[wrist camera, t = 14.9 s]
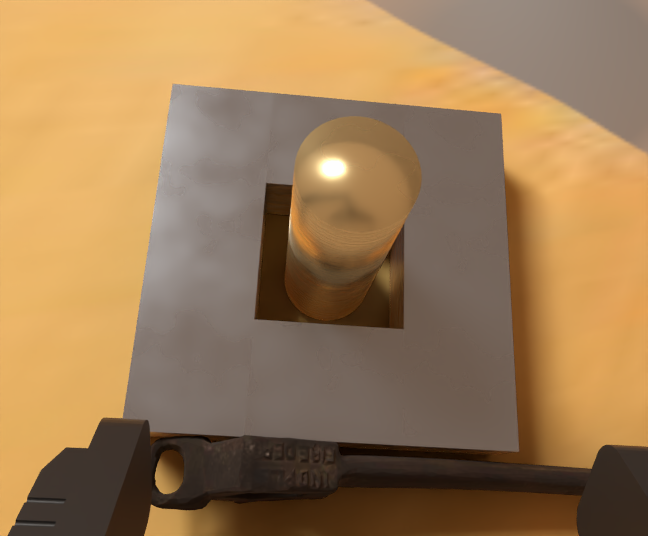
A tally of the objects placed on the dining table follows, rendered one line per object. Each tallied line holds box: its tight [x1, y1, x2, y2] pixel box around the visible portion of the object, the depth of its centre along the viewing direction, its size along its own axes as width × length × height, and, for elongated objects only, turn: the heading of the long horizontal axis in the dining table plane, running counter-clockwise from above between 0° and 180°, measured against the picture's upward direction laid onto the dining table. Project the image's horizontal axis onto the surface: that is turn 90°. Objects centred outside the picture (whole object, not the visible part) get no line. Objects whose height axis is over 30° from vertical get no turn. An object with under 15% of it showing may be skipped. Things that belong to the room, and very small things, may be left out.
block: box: [123, 84, 519, 455], centre depth 25 cm, size 14×14×3 cm
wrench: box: [151, 435, 592, 510], centre depth 23 cm, size 5×5×30 cm
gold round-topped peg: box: [285, 116, 422, 321], centre depth 22 cm, size 4×4×10 cm
